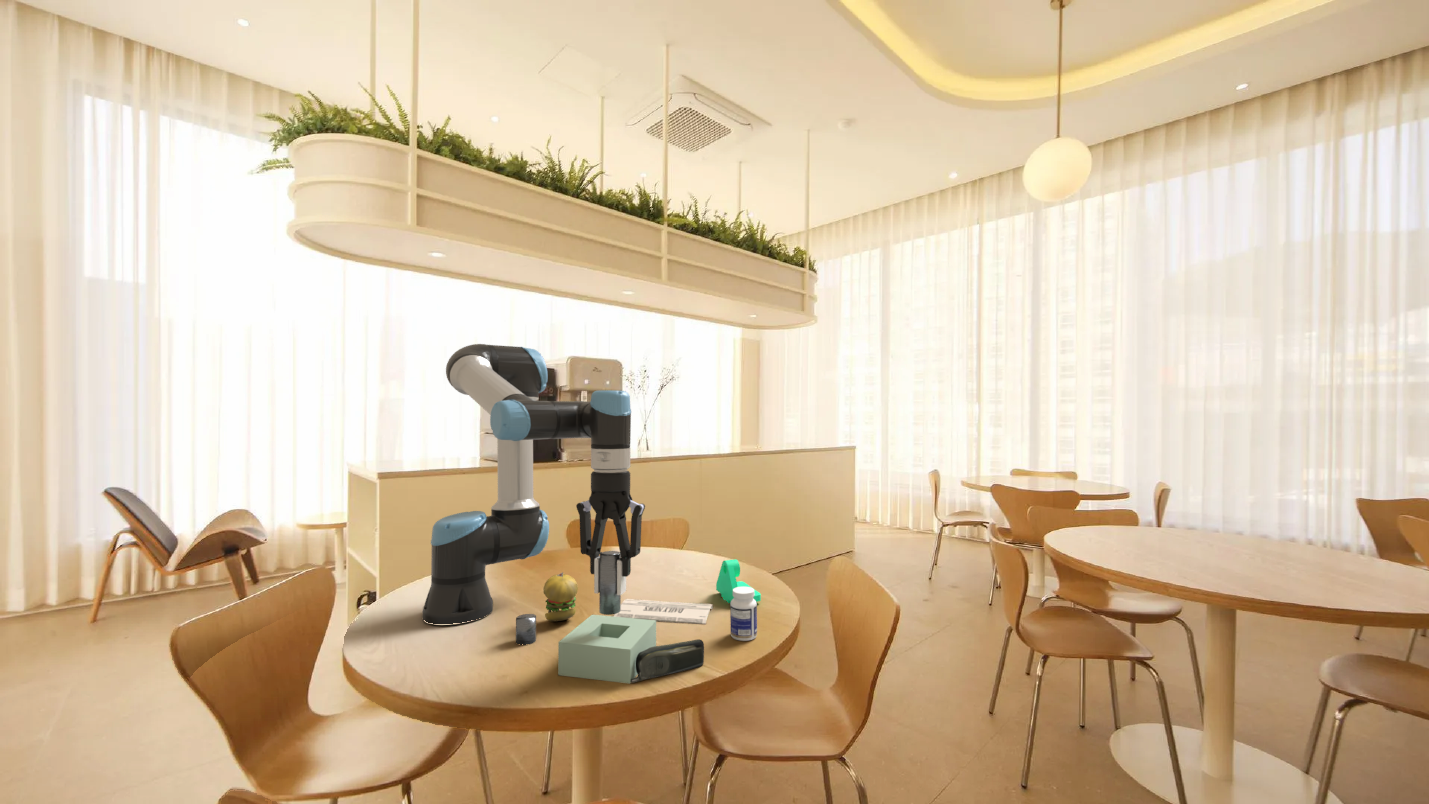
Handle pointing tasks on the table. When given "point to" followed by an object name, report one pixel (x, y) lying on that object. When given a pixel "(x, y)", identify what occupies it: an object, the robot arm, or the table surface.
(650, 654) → the mobile phone
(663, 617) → the newspaper
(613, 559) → the long pin
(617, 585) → the robot arm
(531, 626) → the short pin
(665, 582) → the table surface
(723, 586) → the camera mount
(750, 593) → the pill bottle
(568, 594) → the hamburger
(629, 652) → the guide block
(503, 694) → the table surface
